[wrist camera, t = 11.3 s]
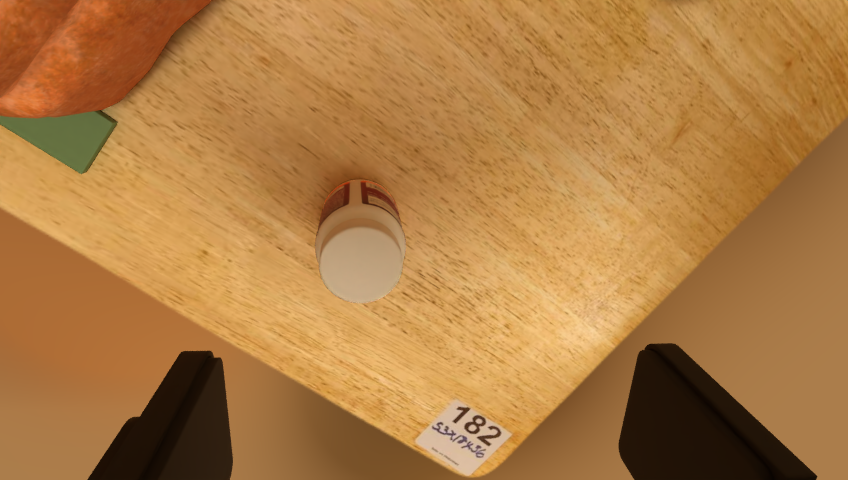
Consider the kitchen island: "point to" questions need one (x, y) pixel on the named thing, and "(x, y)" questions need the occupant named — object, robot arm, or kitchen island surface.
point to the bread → (80, 51)
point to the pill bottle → (360, 242)
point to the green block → (65, 136)
